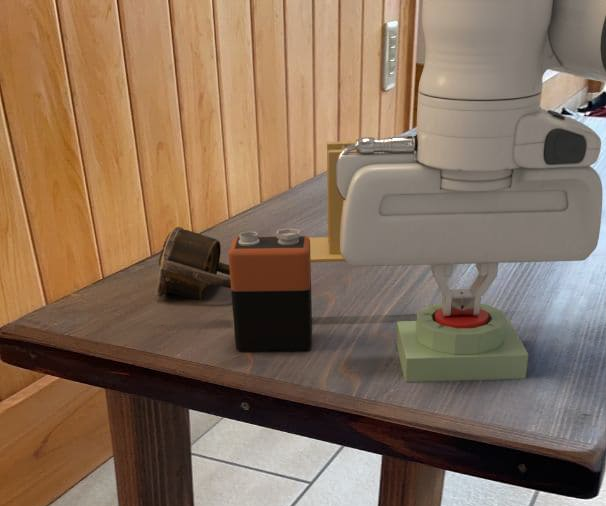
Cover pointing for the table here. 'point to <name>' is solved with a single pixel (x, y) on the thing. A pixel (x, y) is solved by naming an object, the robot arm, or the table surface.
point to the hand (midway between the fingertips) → (459, 313)
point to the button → (462, 320)
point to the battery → (271, 291)
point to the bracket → (331, 211)
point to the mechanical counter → (190, 264)
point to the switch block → (460, 349)
